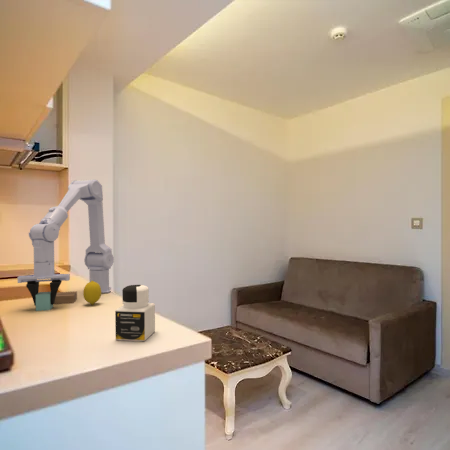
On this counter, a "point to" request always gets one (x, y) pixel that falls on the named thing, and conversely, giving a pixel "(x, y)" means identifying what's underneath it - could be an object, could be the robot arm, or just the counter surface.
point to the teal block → (43, 301)
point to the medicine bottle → (135, 314)
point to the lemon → (92, 292)
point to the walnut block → (65, 297)
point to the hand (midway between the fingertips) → (44, 304)
